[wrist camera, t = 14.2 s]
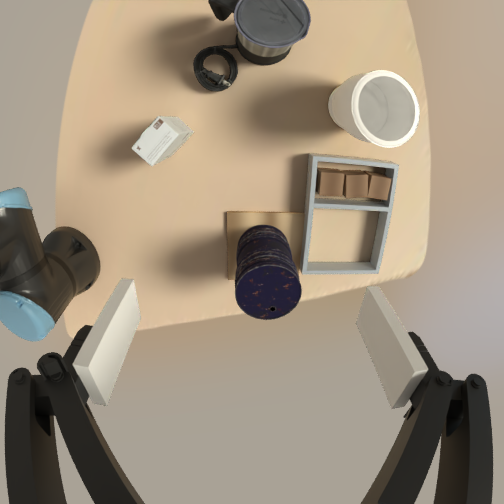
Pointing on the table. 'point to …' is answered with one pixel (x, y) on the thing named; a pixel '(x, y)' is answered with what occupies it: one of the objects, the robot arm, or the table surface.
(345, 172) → the block
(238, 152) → the table surface
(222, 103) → the table surface
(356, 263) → the tray
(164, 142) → the skincare box
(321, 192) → the block
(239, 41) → the milk frother
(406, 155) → the table surface
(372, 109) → the jar
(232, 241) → the mat
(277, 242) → the rusty oil drum
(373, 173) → the block
